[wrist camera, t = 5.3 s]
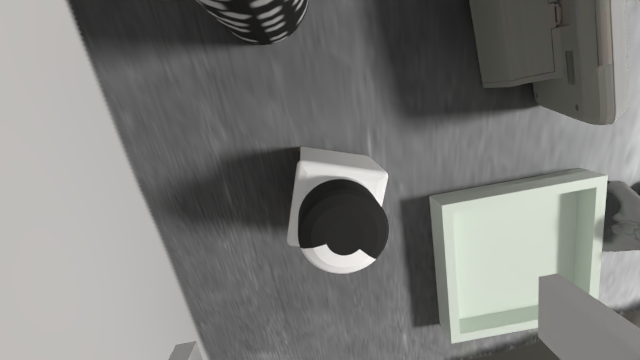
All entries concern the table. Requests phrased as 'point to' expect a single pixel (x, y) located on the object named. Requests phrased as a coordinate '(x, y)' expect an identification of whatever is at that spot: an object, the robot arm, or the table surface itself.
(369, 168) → the medicine bottle
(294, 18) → the spotted tube
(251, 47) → the table surface
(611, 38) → the digital clock
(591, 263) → the tray
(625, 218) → the elephant statuette
